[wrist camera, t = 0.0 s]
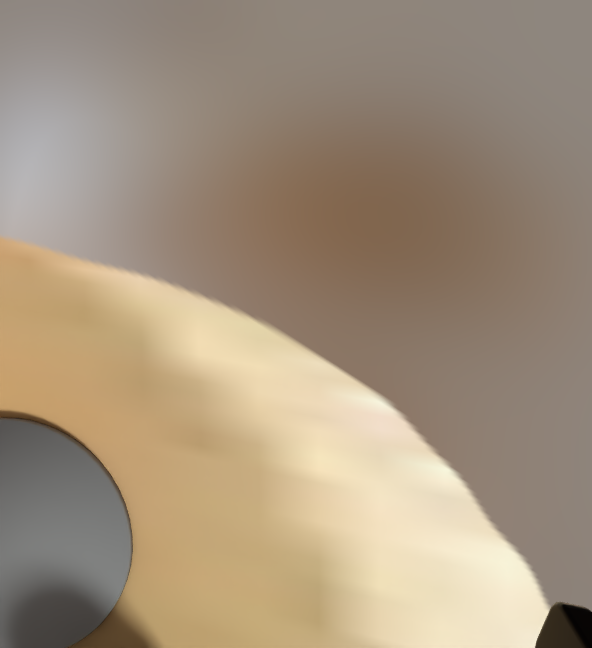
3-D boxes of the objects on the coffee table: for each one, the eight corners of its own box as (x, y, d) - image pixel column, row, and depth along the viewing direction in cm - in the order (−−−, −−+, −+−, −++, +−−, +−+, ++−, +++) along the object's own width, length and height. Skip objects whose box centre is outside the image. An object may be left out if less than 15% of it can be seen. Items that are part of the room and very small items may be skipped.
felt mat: (10, 694, 25) (5, 701, 25) (-147, 517, 25) (-155, 521, 25) (182, 556, 24) (180, 561, 24) (17, 367, 24) (12, 368, 23)
